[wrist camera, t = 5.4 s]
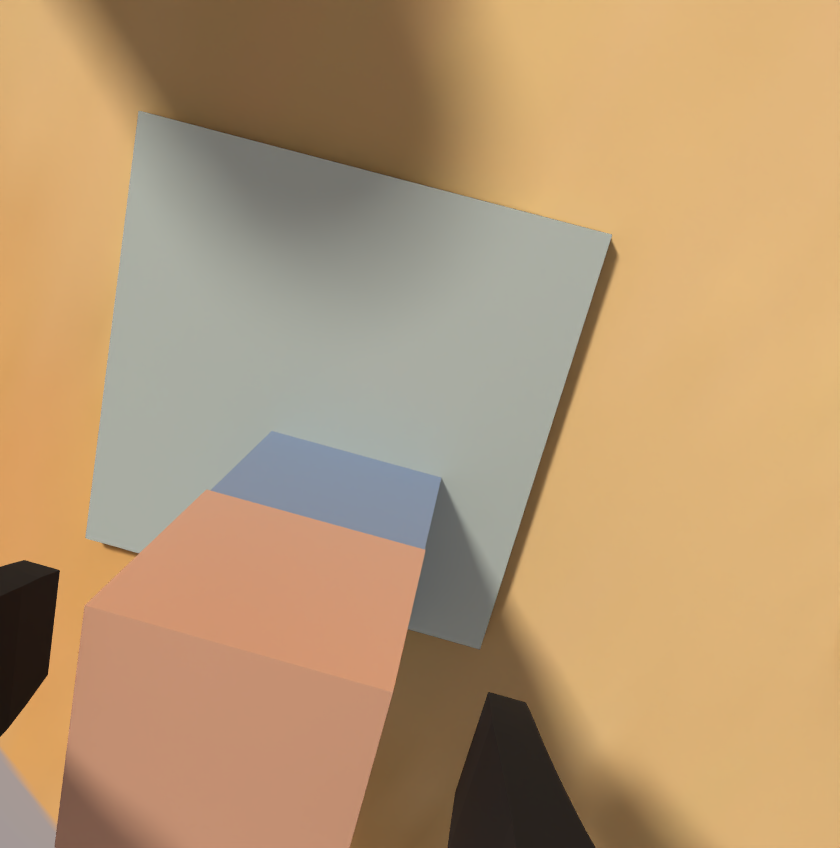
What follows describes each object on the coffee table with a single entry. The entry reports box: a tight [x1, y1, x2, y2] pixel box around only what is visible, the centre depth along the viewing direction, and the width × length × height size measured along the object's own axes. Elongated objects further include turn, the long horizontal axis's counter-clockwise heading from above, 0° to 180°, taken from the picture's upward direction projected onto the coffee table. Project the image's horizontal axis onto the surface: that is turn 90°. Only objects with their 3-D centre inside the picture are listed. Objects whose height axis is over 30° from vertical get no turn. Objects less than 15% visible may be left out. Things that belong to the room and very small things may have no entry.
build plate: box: [86, 111, 612, 649], centre depth 17 cm, size 10×10×1 cm
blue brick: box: [210, 431, 441, 550], centre depth 16 cm, size 4×4×4 cm
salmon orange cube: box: [55, 489, 426, 848], centre depth 12 cm, size 4×4×4 cm
